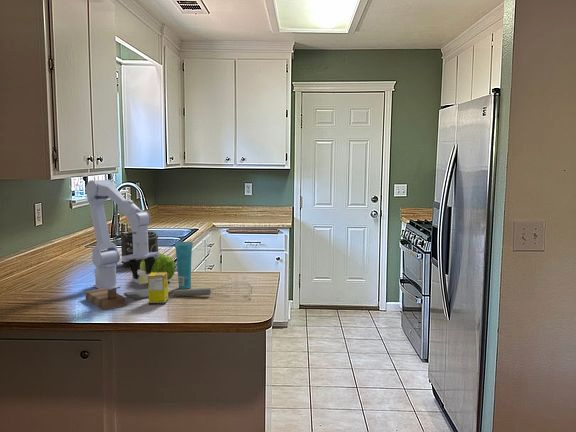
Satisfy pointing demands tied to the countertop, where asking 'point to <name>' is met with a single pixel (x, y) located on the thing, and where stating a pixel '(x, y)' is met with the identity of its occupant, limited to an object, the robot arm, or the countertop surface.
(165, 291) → the supplement box
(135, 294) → the charcoal mat
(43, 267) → the countertop surface
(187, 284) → the tube
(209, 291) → the kitchen whisk
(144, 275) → the lever cap
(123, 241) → the dark speckled bucket
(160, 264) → the lettuce
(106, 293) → the walnut plane
